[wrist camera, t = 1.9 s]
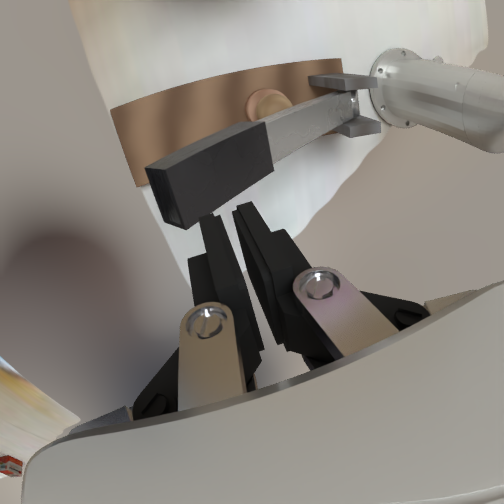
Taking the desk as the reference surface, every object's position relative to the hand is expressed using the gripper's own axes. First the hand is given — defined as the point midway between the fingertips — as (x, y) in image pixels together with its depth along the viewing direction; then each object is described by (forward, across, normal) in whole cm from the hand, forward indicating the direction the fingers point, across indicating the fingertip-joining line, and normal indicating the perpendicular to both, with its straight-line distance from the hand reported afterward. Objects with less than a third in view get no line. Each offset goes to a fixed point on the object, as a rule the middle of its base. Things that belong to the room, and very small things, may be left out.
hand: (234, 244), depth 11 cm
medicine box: (+28, +123, +89) cm, 154 cm away
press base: (+27, -6, 0) cm, 28 cm away
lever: (+14, -7, 0) cm, 16 cm away
